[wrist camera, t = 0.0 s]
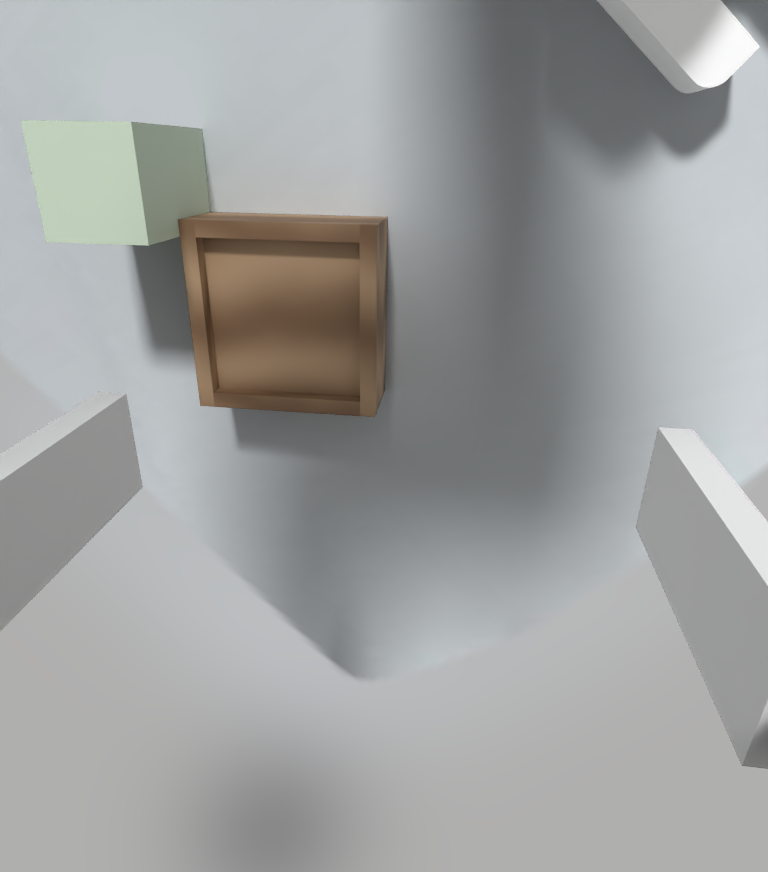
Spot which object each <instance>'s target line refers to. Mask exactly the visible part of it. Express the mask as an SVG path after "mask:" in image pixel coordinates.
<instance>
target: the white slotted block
mask: <svg viewBox="0 0 768 872" xmlns="http://www.w3.org/2000/svg"><path fill="white" fill-rule="evenodd" d="M597 1H598V3H599V4H600V5H601V6H602V7H603V8H604V9H605V10H606V12H607V13H608V14H609V15H610V16H611V17H612V18H613V19H614V21H615V22H616V23H617V24H618V25H619V26H620V27H621V28H622V30H623V31H624V32H625V33H626V34H627V35H628V36H629V37H630V39H631V40H632V41H633V42H634V43H635V44H636V45H637V46H638V47H639V49H640V50H641V51H642V52H643V53H644V54H645V55H646V56H647V58H648V59H649V60H650V61H651V62H652V63H653V64H654V65H655V67H656V68H657V69H658V70H659V71H660V72H661V73H662V74H663V76H664V77H665V78H666V79H667V80H668V81H669V82H670V83H671V85H672V86H673V87H674V88H675V89H676V90H678V91H679V92H682V93H694V92H698V91H701V90H705V89H709V88H712V87H716V86H718V85H720V84H722V83H724V82H725V81H726V80H727V79H728V78H729V77H730V76H731V75H732V74H733V73H734V72H735V71H736V70H737V69H738V68H739V67H740V66H741V65H742V64H743V63H744V62H745V61H746V60H747V59H748V58H749V57H750V56H751V55H752V54H753V53H754V52H755V51H756V50H757V49H758V48H759V47H760V46H759V45H758V44H757V43H756V41H755V40H754V39H753V38H752V37H751V35H750V34H749V33H748V32H747V31H746V29H745V28H744V27H743V26H742V25H741V24H740V22H739V21H738V20H737V19H736V18H735V16H734V15H733V14H732V13H731V12H730V10H729V9H728V8H727V7H726V6H725V4H724V3H723V2H722V1H721V0H597Z"/></svg>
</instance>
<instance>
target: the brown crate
mask: <svg viewBox="0 0 768 872" xmlns="http://www.w3.org/2000/svg"><path fill="white" fill-rule="evenodd" d="M178 226H179V234H180V242H181V250H182V259H183V267H184V275H185V283H186V291H187V300H188V308H189V316H190V324H191V332H192V341H193V349H194V357H195V365H196V373H197V382H198V390H199V398H200V406H213V407H228V408H244V409H259V410H275V411H290V412H305V413H321V414H336V415H352V416H367V417H375V416H376V413H377V410H378V407H379V405H380V402H381V399H382V396H383V394H384V391H385V338H386V277H387V217H365V216H329V215H293V214H258V213H222V212H209V213H204V214H199V215H195V216H190V217H186V218H181V219H178Z"/></svg>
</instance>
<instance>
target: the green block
mask: <svg viewBox="0 0 768 872" xmlns="http://www.w3.org/2000/svg"><path fill="white" fill-rule="evenodd" d="M21 124H22V129H23V134H24V138H25V143H26V148H27V153H28V157H29V162H30V167H31V172H32V176H33V181H34V186H35V191H36V195H37V200H38V205H39V210H40V214H41V219H42V224H43V229H44V233H45V238H46V242H63V243H90V244H118V245H146V246H149V245H153V244H156V243H160V242H163V241H167V240H170V239H174V238H177V237H180V234H179V226H178V219H181V218H186V217H190V216H195V215H199V214H204V213H209V212H210V204H209V194H208V184H207V174H206V164H205V154H204V144H203V134H202V129H200V128H189V127H179V126H169V125H158V124H148V123H138V122H104V121H25V120H21Z"/></svg>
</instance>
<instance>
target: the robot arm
mask: <svg viewBox="0 0 768 872" xmlns="http://www.w3.org/2000/svg"><path fill="white" fill-rule="evenodd" d="M142 487H143V486H142V480H141V475H140V469H139V463H138V458H137V452H136V446H135V441H134V435H133V429H132V424H131V418H130V412H129V407H128V401H127V395H126V394H123V393H107V392H97V393H96V394H94V395H93V396H91V397H89V398H88V399H86V400H85V401H83V402H82V403H80V404H78V405H77V406H75V407H74V408H72V409H71V410H69V411H67V412H66V413H64V414H63V415H61V416H60V417H58V418H56V419H55V420H53V421H52V422H50V423H49V424H47V425H46V426H44V427H42V428H41V429H39V430H38V431H36V432H34V433H33V434H31V435H30V436H28V437H27V438H25V439H24V440H22V441H20V442H19V443H17V444H16V445H14V446H12V447H11V448H9V449H8V450H7V451H5V452H3V453H1V454H0V631H1V630H2V629H3V628H4V627H5V626H6V625H7V624H8V623H9V622H10V621H11V620H12V619H13V618H14V617H15V616H16V615H17V614H18V613H19V612H20V611H21V610H22V609H23V608H24V607H25V606H26V605H27V604H28V603H29V602H30V601H31V600H32V599H33V597H35V596H36V595H37V594H38V593H39V592H40V591H41V590H42V589H43V588H44V587H45V586H46V585H47V584H48V583H49V582H50V581H51V579H52V578H54V577H55V575H57V574H58V572H59V571H60V570H61V569H62V568H63V567H64V566H65V565H66V564H67V563H68V562H69V561H70V560H71V559H72V558H73V557H74V556H75V555H76V554H77V553H78V552H79V551H80V550H81V549H82V548H83V547H84V546H85V545H86V544H87V543H88V542H89V541H90V540H91V539H92V538H93V537H94V536H95V535H96V534H97V533H98V532H99V531H100V530H101V529H102V528H103V527H104V526H105V525H106V524H107V523H108V522H109V521H110V520H111V519H112V518H113V517H114V516H115V515H116V514H117V513H118V512H119V511H120V510H121V508H123V507H124V505H126V504H127V502H128V501H129V500H130V499H131V498H132V497H133V496H134V495H135V494H136V493H137V492H138V491H139V490H140V489H141V488H142ZM636 529H637V531H638V533H639V535H640V538H641V540H642V542H643V544H644V547H645V549H646V551H647V553H648V556H649V558H650V560H651V562H652V565H653V567H654V569H655V571H656V574H657V576H658V578H659V580H660V582H661V585H662V587H663V589H664V592H665V594H666V596H667V598H668V600H669V603H670V605H671V607H672V609H673V612H674V614H675V616H676V618H677V621H678V623H679V625H680V627H681V630H682V632H683V634H684V636H685V639H686V641H687V643H688V645H689V648H690V650H691V652H692V654H693V657H694V658H695V661H696V663H697V666H698V668H699V670H700V672H701V675H702V677H703V679H704V681H705V684H706V686H707V688H708V690H709V693H710V695H711V697H712V699H713V701H714V704H715V706H716V708H717V711H718V713H719V715H720V717H721V720H722V722H723V724H724V726H725V728H726V731H727V733H728V735H729V737H730V740H731V742H732V744H733V747H734V749H735V751H736V753H737V756H738V758H739V760H740V762H741V764H742V766H750V767H758V768H767V769H768V522H767V521H766V519H765V518H764V517H763V516H762V514H761V513H760V512H759V511H758V510H757V508H756V507H755V506H754V504H753V503H752V502H751V501H750V500H749V498H748V497H747V496H746V495H745V493H744V492H743V491H742V490H741V488H740V487H739V486H738V485H737V484H736V482H735V481H734V480H733V479H732V477H731V476H730V475H729V474H728V472H727V471H726V470H725V469H724V467H723V466H722V465H721V464H720V463H719V461H718V460H717V459H716V458H715V456H714V455H713V454H712V453H711V451H710V450H709V449H708V448H707V446H706V445H705V444H704V443H703V442H702V440H701V439H700V438H699V437H698V435H697V434H696V433H695V432H694V430H692V429H676V428H660V427H658V431H657V436H656V440H655V444H654V449H653V453H652V458H651V462H650V467H649V471H648V475H647V480H646V484H645V489H644V493H643V498H642V502H641V506H640V511H639V515H638V520H637V524H636Z"/></svg>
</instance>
